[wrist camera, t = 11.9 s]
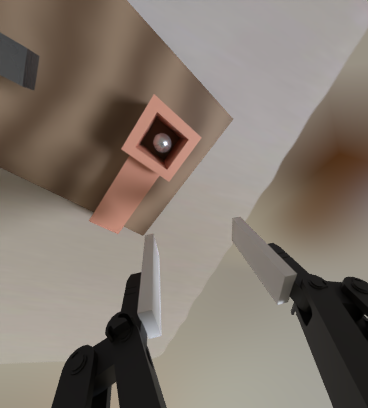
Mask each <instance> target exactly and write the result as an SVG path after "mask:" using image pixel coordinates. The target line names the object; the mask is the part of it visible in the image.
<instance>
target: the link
mask: <svg viewBox="0 0 368 408" xmlns="http://www.w3.org/2000/svg"><path fill="white" fill-rule="evenodd" d="M156 118H158V119H159V120H160V121H161V122H162V123H163V124H165V125H166V126H167V127H168V128H169V129H170V130H172V131H173V132H174V133H175V134H176V135H177V136H179V137H180V138H179V140H178V141H177V143H176V144H175V146H174V147H173V148H172V150H171V151H170V153H169V154H168V156H167V157H166V158H165V160H163V159H162V158H160V157H159V156H158V155H156V154H155V153H154V152H152V151H151V150H150V149H148V148H147V147H146V146H144V145H143V144H142V143H141V142H142V141H143V139H144V137H145V136H146V134H147V133H148V131H149V130H150V128H151V126H152V125H153V123H154V122H155V120H156ZM200 139H201V137H200V136H199V135H198V134H197V133H196V132H195V131H194V130H193V129H192V128H191V127H190V126H188V125H187V124H186V123H185V122H184V121H183V120H182V119H181V118H180V117H179V116H178V115H176V114H175V113H174V112H173V111H172V110H171V109H170V108H169V107H168V106H167V105H166V104H164V103H163V102H162V101H161V100H160V99H159V98H158V97H157V96H156V95H155V94H154V95H153V97H152V98H151V100H150V102H149V103H148V105H147V107H146V108H145V110H144V112H143V113H142V115H141V117H140V118H139V120H138V122H137V123H136V125H135V127H134V128H133V130H132V132H131V133H130V135H129V137H128V138H127V140H126V142H125V143H124V145H123V147H122V148H121V149H122V150H123V151H125V152H126V153H128V154H129V155H130V156H129V157H128V159H127V160H126V162H125V164H124V165H123V167H122V168H121V170H120V172H119V173H118V175H117V176H116V178H115V180H114V181H113V183H112V184H111V186H110V188H109V189H108V191H107V192H106V194H105V196H104V197H103V199H102V201H101V202H100V204H99V205H98V207H97V209H96V210H95V212H94V213H93V215H92V217H91V218H90V220H89V221H90V222H92V223H94V224H97V225H99V226H101V227H103V228H106V229H108V230H110V231H112V232H115V233H117V234H118V233H119V232H120V231H121V229H122V228H123V226H124V225H125V224H126V222H127V221H128V219H129V218H130V217H131V215H132V214H133V212H134V211H135V210H136V208H137V207H138V205H139V204H140V202H141V201H142V200H143V198H144V197H145V195H146V194H147V193H148V191H149V190H150V188H151V187H152V186H153V184H154V183H155V181H156V180H157V179H158V177H159V176H161V177H163V178H164V179H166V180H167V181H168V182H169V181H170V180H171V179H172V177H173V176H174V175H175V173H176V172H177V171H178V169H179V168H180V167H181V165H182V164H183V162H184V161H185V160H186V158H187V157H188V156H189V154H190V153H191V152H192V150H193V149H194V148H195V146H196V145H197V143H198V142H199V141H200Z"/></svg>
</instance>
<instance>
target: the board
mask: <svg viewBox="0 0 368 408" xmlns="http://www.w3.org/2000/svg"><path fill="white" fill-rule="evenodd" d="M0 32H1V33H2V34H4V35H6V36H7V37H9V38H11V39H12V40H14V41H16V42H18V43H19V44H21V45H23V46H24V47H26V48H28V49H29V50H31V51H32V52H34V53H35V54H37V55H38V56H40V57H39V64H38V71H37V77H36V84H35V91H34V90H31V89H28V88H25V87H22V86H20V85H18V84H16V83H15V82H13V81H11V80H9V79H7V78H5V77H3V76H1V75H0V167H1V168H3V169H5V170H7V171H9V172H11V173H13V174H15V175H17V176H19V177H21V178H24V179H26V180H28V181H30V182H32V183H34V184H36V185H38V186H40V187H42V188H44V189H47V190H49V191H51V192H53V193H55V194H57V195H59V196H61V197H63V198H65V199H67V200H70V201H72V202H74V203H76V204H78V205H80V206H82V207H84V208H86V209H88V210H90V211H93V212H95V210H96V209H97V207H98V205H99V204H100V202H101V201H102V199H103V197H104V196H105V194H106V192H107V191H108V189H109V188H110V186H111V184H112V183H113V181H114V180H115V178H116V176H117V175H118V173H119V172H120V170H121V168H122V167H123V165H124V164H125V162H126V160H127V159H128V157H129V156H130V155H129V154H128V153H126V152H125V151H123V150H122V149H121V148H122V147H123V145H124V143H125V142H126V140H127V138H128V137H129V135H130V133H131V132H132V130H133V128H134V127H135V125H136V123H137V122H138V120H139V118H140V117H141V115H142V113H143V112H144V110H145V108H146V107H147V105H148V103H149V102H150V100H151V98H152V97H153V95H154V94H155V95H156V96H157V97H158V98H159V99H160V100H161V101H162V102H163V103H164V104H166V105H167V106H168V107H169V108H170V109H171V110H172V111H173V112H174V113H175V114H176V115H178V116H179V117H180V118H181V119H182V120H183V121H184V122H185V123H186V124H187V125H188V126H190V127H191V128H192V129H193V130H194V131H195V132H196V133H197V134H198V135H199V136H200V137H201V139H200V141H199V142H198V143H197V145H196V146H195V148H194V149H193V150H192V152H191V153H190V154H189V156H188V157H187V158H186V160H185V161H184V162H183V164H182V165H181V167H180V168H179V169H178V171H177V172H176V173H175V175H174V176H173V177H172V179H171V180H170V181H169V182H168V181H167V180H166V179H164V178H163V177H161V176H159V177H158V179H157V180H156V181H155V183H154V184H153V186H152V187H151V188H150V190H149V191H148V193H147V194H146V195H145V197H144V198H143V200H142V201H141V202H140V204H139V205H138V207H137V208H136V210H135V211H134V212H133V214H132V215H131V217H130V218H129V219H128V221H127V222H126V224H125V225H124V227H126V228H128V229H130V230H132V231H134V232H136V233H139V234H141V235H144V234H145V233H146V231H147V230H148V229H149V227H150V226H151V225H152V224H153V222H154V221H155V220H156V218H157V217H158V216H159V215H160V213H161V212H162V211H163V209H164V208H165V207H166V206H167V204H168V203H169V202H170V200H171V199H172V198H173V196H174V195H175V194H176V193H177V191H178V190H179V189H180V187H181V186H182V185H183V184H184V182H185V181H186V180H187V178H188V177H189V176H190V175H191V173H192V172H193V171H194V169H195V168H196V167H197V166H198V164H199V163H200V162H201V160H202V159H203V158H204V156H205V155H206V154H207V153H208V151H209V150H210V149H211V147H212V146H213V145H214V144H215V142H216V141H217V140H218V138H219V137H220V136H221V135H222V133H223V132H224V131H225V129H226V128H227V127H228V125H229V124H230V123H231V122H232V120H233V118H232V117H231V116H230V115H229V114H228V113H227V111H226V110H225V109H224V108H223V107H222V106H221V105H220V104H219V103H218V101H217V100H216V99H215V98H214V97H213V96H212V95H211V94H210V93H209V91H208V90H207V89H206V88H205V87H204V86H203V85H202V84H201V82H200V81H199V80H198V79H197V78H196V77H195V76H194V75H193V74H192V72H191V71H190V70H189V69H188V68H187V67H186V66H185V65H184V64H183V62H182V61H181V60H180V59H179V58H178V57H177V56H176V55H175V54H174V52H173V51H172V50H171V49H170V48H169V47H168V46H167V45H166V44H165V42H164V41H163V40H162V39H161V38H160V37H159V36H158V35H157V33H156V32H155V31H154V30H153V29H152V28H151V27H150V26H149V25H148V23H147V22H146V21H145V20H144V19H143V18H142V17H141V16H140V15H139V13H138V12H137V11H136V10H135V9H134V8H133V7H132V6H131V5H130V3H129V2H128V1H127V0H0ZM158 133H164V134H166V135H168V136H169V137H170V139H171V148H170V149H169V150H168V151H167V152H164V153H161V152H159V151H157V150H156V149H155V147H154V144H153V141H154V137H155V136H156V135H157V134H158ZM179 138H180V137H179V136H177V135H176V134H175V133H174V132H173V131H172V130H170V129H169V128H168V127H167V126H166V125H165V124H163V123H162V122H161V121H160V120H159V119H158V118H156V120H155V122H154V123H153V125H152V126H151V128H150V130H149V131H148V133H147V134H146V136H145V137H144V139H143V141H142V142H141V143H142V144H143V145H144V146H146V147H147V148H148V149H150V150H151V151H152V152H154V153H155V154H156V155H158V156H159V157H160V158H162V159H163V160H165V158H166V157H167V156H168V154H169V153H170V151H171V150H172V148H173V147H174V146H175V144H176V143H177V141H178V140H179Z"/></svg>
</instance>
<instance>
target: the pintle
mask: <svg viewBox="0 0 368 408" xmlns="http://www.w3.org/2000/svg"><path fill="white" fill-rule="evenodd" d="M153 144H154V147H155V149H156V150H157V151H159V152H161V153H164V152H167V151H168V150H169V149H170V148H171V139H170V137H169V136H168V135H166V134H164V133H158V134H157V135H156V136H155V137H154V141H153Z"/></svg>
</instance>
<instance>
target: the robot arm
mask: <svg viewBox="0 0 368 408" xmlns="http://www.w3.org/2000/svg"><path fill="white" fill-rule="evenodd" d="M232 241H233V243H234V244H235V245H236V247H237V248H238V250H239V251H240V252H241V254H242V255H243V257H244V258H245V260H246V261H247V263H248V264H249V265H250V267H251V268H252V270H253V271H254V272H255V274H256V275H257V277H258V278H259V280H260V281H261V282H262V284H263V285H264V287H265V288H266V290H267V291H268V292H269V294H270V295H271V297H272V298H273V299H274V301H275V302H276V304H277V305H279V304H282V303H286V302H288V300H289V297H291V299H292V300H293V301H294V304H293V307H292V309H291V314H292V315H294V312H295V311H296V315H297V317H298V319H299V322H300V324H301V327H302V329H303V332H304V334H305V337H306V339H307V342H308V344H309V347H310V350H311V352H312V355H313V357H314V360H315V362H316V365H317V367H318V370H319V372H320V375H321V378H322V380H323V383H324V385H325V388H326V390H327V393H328V395H329V398H330V400H331V403H332V406H333V408H368V319H367V318H366V317H365V316H364V315H366V316H368V283H367V282H365V281H363V280H361V279H358V278H355V277H346V278H344V280H343V282H330V281H325V280H324V279H322V278H320V277H318V276H316V275H312V274H309V273H308V272H307V271H306V270H305V269H303V268H302V267H301V266H300V265H299V264H298V263H297V262H296V261H295V260H294V259H293V258H291V257H290V256H289V255H288V254H287V253H285V251H284V250H283V249H281V247H279V246H277V245H275V244H274V243H270V244H267V243H266V242H265V241H264V240H263V239H262V238H261V237H260V236H259V235H258V234H257V233H256V232H255V231H254V230H253V229H252V228H251V227H250V226H249V225H248V224H247V223H246V222H245V221H244V220H243V219H242V218H241V217H236V218H233V221H232ZM125 289H126V290H125V293H124V299H123V304H122V309H121V312H119V313H117V314H115V315H114V316H113V317H112V318H111V320H110V321H109V322H108V324H107V327H106V332H105V335H106V336H107V338H106V339H105V340H103V341H101V342H100V343H98V344H97V345H95V346H93V347H92V346H89V345H85V346H81V347H80V348H78V349H77V350H75V351H74V352H73V353H72V354H71V355H70V357H69V358H68V360H67V361H66V363H65V365H64V367H63V370H62V373H61V376H60V380H59V383H58V387H57V390H56V394H55V397H54V401H53V404H52V407H51V408H110V400H111V386H112V384H114V383H115V382H116V383H117V389H118V398H119V405H120V408H167V407H166V404H165V401H164V398H163V394H162V391H161V388H160V385H159V382H158V378H157V375H156V372H155V369H154V366H153V362H152V359H151V356H150V353H149V349H148V347H147V336H148V338H149V339H151V338H154V337H158V336H161V299H160V261H159V252H158V249H157V245H156V241H155V237H154V234H150V235H145V243H144V253H143V262H142V272H140V273H136V274H131V275H130V277H129V279H128V280H127V283H126V288H125Z"/></svg>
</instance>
